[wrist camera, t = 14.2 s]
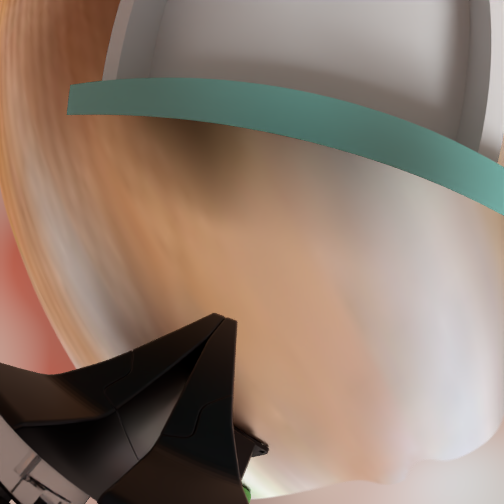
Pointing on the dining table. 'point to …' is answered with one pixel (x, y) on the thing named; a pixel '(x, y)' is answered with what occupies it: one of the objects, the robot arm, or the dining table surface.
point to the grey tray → (323, 77)
